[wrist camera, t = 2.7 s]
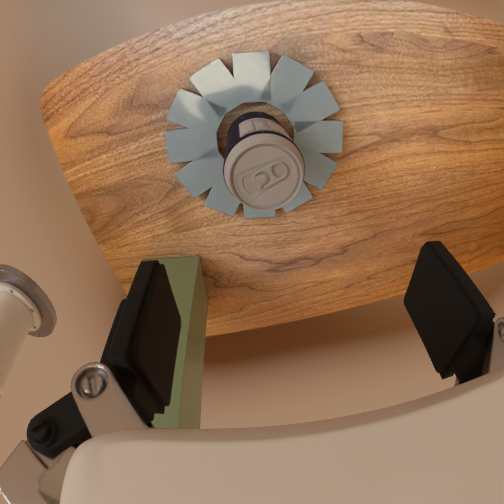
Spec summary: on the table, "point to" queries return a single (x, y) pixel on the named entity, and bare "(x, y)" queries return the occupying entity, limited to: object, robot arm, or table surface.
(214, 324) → the table surface
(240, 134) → the beverage can
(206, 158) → the trivet
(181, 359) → the stand
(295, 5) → the table surface
